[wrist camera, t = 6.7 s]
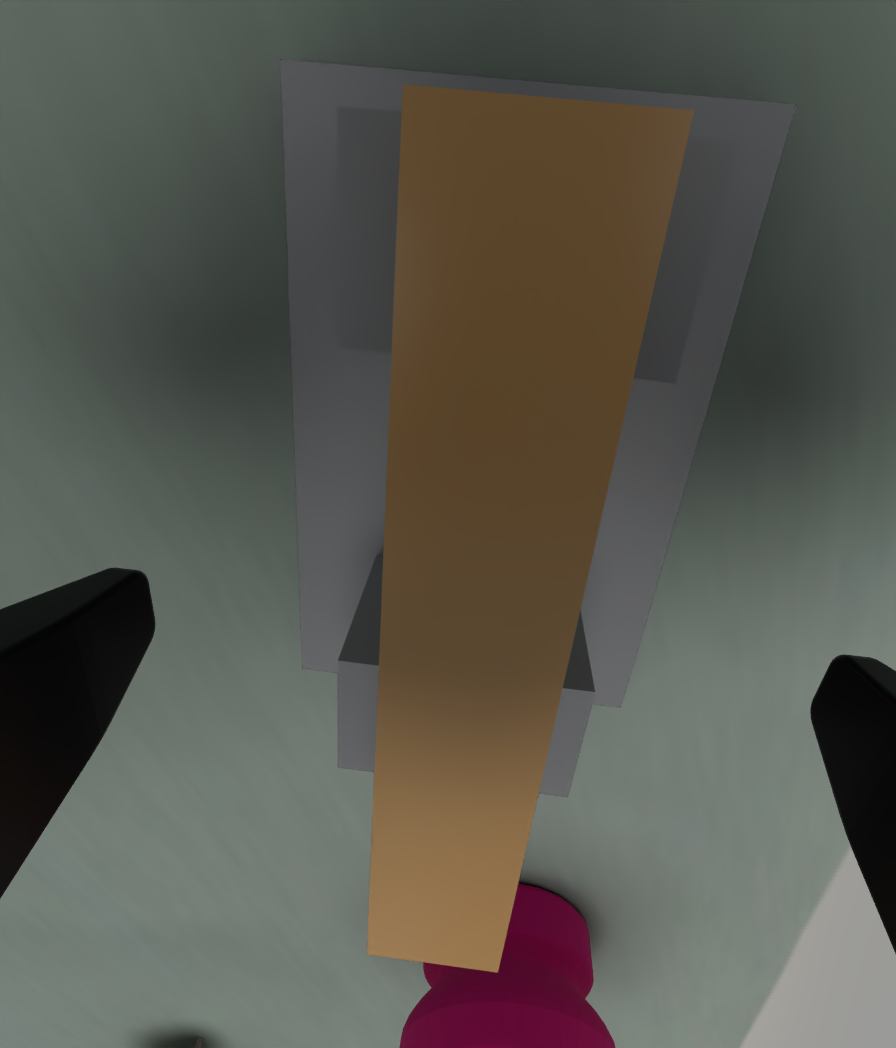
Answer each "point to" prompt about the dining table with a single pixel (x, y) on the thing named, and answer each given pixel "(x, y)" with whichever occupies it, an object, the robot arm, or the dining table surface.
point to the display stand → (365, 369)
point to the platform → (198, 1043)
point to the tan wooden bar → (497, 475)
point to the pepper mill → (517, 988)
